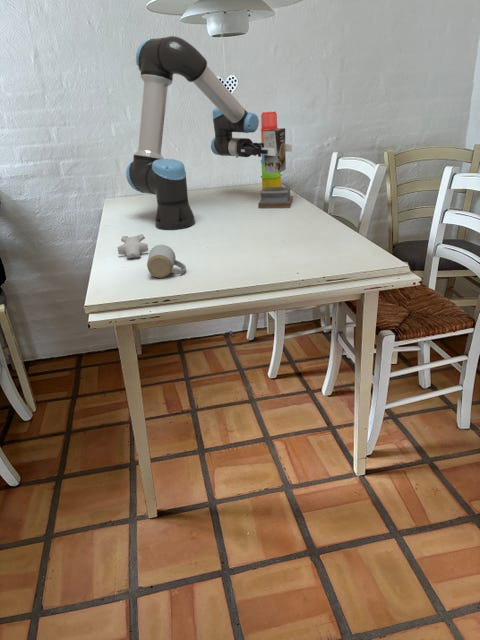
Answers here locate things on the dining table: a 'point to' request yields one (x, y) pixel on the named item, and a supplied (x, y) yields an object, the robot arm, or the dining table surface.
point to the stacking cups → (267, 178)
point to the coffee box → (276, 140)
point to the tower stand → (275, 197)
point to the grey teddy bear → (132, 246)
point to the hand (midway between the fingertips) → (283, 150)
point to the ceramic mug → (163, 262)
